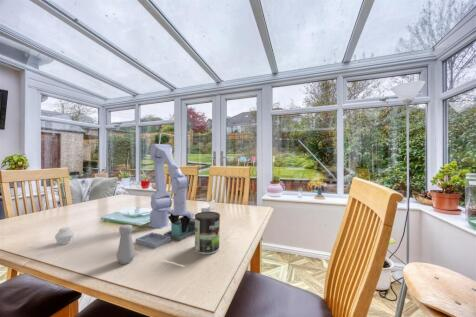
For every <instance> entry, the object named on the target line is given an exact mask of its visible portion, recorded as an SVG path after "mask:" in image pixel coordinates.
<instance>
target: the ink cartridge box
mask: <svg viewBox="0 0 476 317" xmlns="http://www.w3.org/2000/svg"><path fill="white" fill-rule="evenodd" d="M200 210H201V211H200V212H216V201H215V198H214V199H212V200H211V201H209V204H208V203H207V204H205V205H204V206H202V207H201V209H200Z"/></svg>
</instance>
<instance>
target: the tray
mask: <svg viewBox="0 0 476 317" xmlns="http://www.w3.org/2000/svg"><path fill="white" fill-rule="evenodd" d="M171 241H172V239H171V237H170V236H165V235H164V234H161V233H157V232H149V233H146V234H145V235H141V236H139V237H137V238H135V243H136V244H138V245H142V246H146V247H149V248H153V249H157V248H159V247H161V246H164V245H165V244H167V243H169V242H171Z"/></svg>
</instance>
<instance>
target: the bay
mask: <svg viewBox="0 0 476 317" xmlns="http://www.w3.org/2000/svg"><path fill="white" fill-rule="evenodd" d="M182 217H183V216H179V219H178V221H179V220H180V218H182ZM163 235H165V236H170V237H171V240H173V241H177V242H181V241H183V240H185V239H187V238H189V237H190V236H192V235H195V217H193V218H191V219H190V221H189V223H188V233H186V234H184V235H182V236H181V237H178V236H174V235H171V230H169V231H167V232H165V233H163Z"/></svg>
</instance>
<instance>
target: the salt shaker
mask: <svg viewBox="0 0 476 317" xmlns="http://www.w3.org/2000/svg"><path fill="white" fill-rule="evenodd" d="M118 230H119V231H118V232H119V234H120V237H119V238H120V239H119V243H118V249H117V254H116V259H117V262H118V264H120V265H128V264H130V263H131V262H133V260H134V258H135V256H136V252H135V246H134V241H133V235H132V232H133V225H132V224H123V225H120V227H119V228H118Z"/></svg>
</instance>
